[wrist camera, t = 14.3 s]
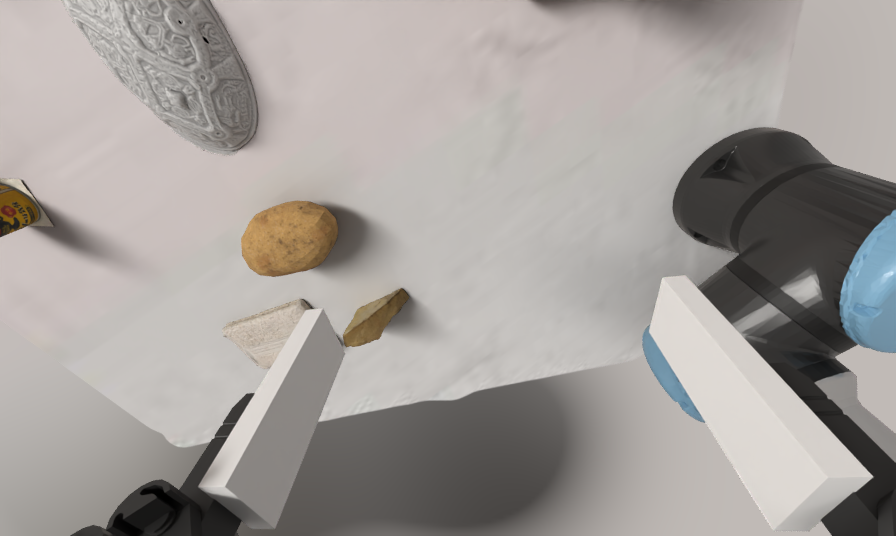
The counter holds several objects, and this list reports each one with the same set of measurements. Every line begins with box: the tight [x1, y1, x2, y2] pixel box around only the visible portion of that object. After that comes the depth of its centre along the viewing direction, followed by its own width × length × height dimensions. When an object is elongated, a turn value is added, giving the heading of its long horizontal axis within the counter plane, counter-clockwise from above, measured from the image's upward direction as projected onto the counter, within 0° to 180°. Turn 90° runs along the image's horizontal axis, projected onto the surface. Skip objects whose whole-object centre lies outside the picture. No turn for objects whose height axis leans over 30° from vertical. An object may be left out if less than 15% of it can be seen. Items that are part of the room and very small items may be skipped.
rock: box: [343, 289, 409, 347], centre depth 54 cm, size 11×9×10 cm
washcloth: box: [222, 299, 311, 369], centre depth 60 cm, size 12×18×3 cm, turn 113°
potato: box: [241, 201, 338, 277], centre depth 45 cm, size 10×14×8 cm
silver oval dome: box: [61, 0, 258, 156], centre depth 34 cm, size 16×25×7 cm, turn 22°
